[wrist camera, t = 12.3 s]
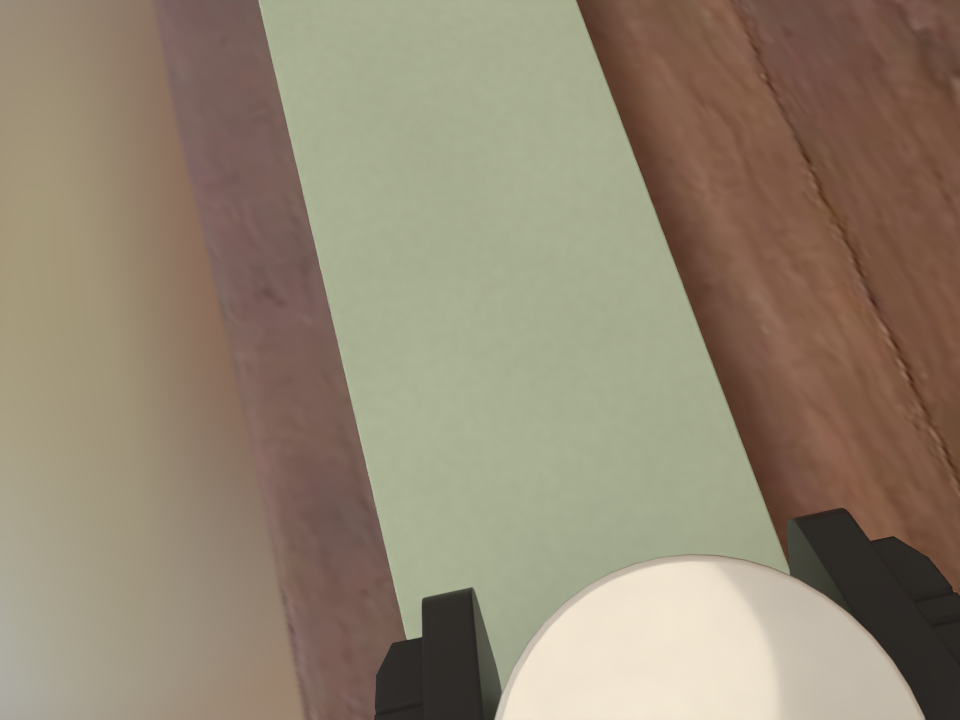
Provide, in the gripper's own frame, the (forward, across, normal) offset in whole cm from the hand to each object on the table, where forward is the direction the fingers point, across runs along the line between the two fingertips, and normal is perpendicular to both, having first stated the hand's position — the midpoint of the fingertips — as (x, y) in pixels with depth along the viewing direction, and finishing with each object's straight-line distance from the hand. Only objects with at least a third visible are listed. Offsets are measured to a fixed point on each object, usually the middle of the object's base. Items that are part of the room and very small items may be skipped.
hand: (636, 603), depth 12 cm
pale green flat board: (+22, +1, +2) cm, 22 cm away
